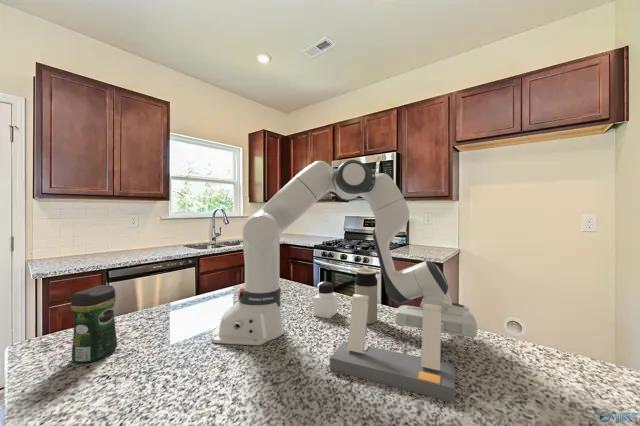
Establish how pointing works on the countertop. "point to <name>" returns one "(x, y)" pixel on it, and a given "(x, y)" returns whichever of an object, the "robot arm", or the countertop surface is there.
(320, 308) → the medicine bottle
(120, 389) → the countertop surface
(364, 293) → the travel mug
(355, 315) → the inner lever
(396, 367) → the switch unit
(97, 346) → the coffee jar
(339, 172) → the robot arm
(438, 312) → the outer lever
